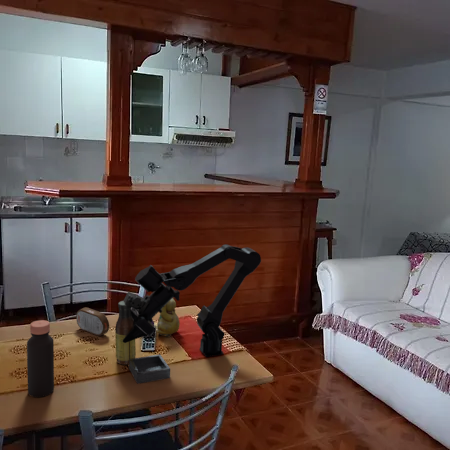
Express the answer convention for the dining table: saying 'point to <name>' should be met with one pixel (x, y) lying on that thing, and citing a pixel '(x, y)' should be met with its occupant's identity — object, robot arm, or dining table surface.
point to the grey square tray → (149, 368)
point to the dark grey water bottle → (40, 360)
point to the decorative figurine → (168, 319)
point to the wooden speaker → (92, 321)
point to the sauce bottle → (122, 328)
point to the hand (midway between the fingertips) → (121, 335)
